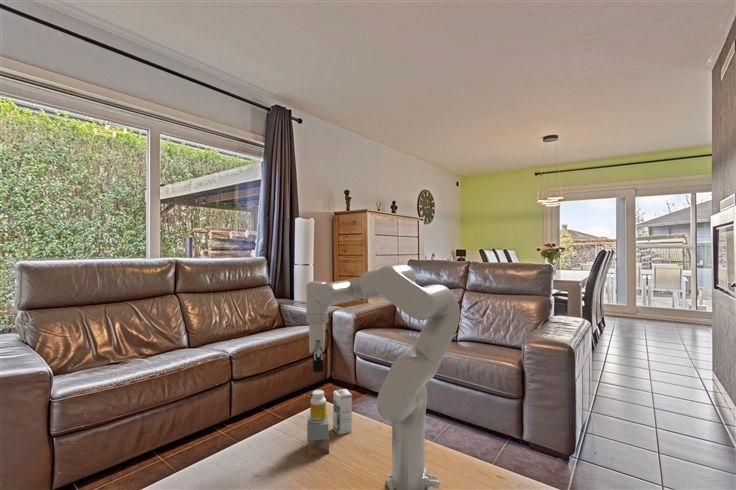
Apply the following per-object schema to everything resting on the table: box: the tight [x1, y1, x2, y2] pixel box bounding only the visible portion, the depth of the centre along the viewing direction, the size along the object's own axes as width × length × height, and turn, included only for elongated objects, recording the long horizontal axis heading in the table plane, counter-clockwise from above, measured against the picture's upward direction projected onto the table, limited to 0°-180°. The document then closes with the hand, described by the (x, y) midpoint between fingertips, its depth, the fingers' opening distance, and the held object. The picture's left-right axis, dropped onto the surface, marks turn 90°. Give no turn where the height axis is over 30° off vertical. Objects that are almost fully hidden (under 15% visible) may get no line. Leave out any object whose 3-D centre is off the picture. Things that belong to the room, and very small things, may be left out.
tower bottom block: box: [307, 433, 330, 456], centre depth 126 cm, size 7×7×5 cm
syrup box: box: [332, 388, 353, 436], centre depth 138 cm, size 6×6×14 cm
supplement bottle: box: [309, 389, 327, 423], centre depth 126 cm, size 5×5×10 cm
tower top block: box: [306, 414, 329, 442], centre depth 126 cm, size 7×7×5 cm
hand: (317, 366), depth 126 cm, fingers open, 9 cm apart
